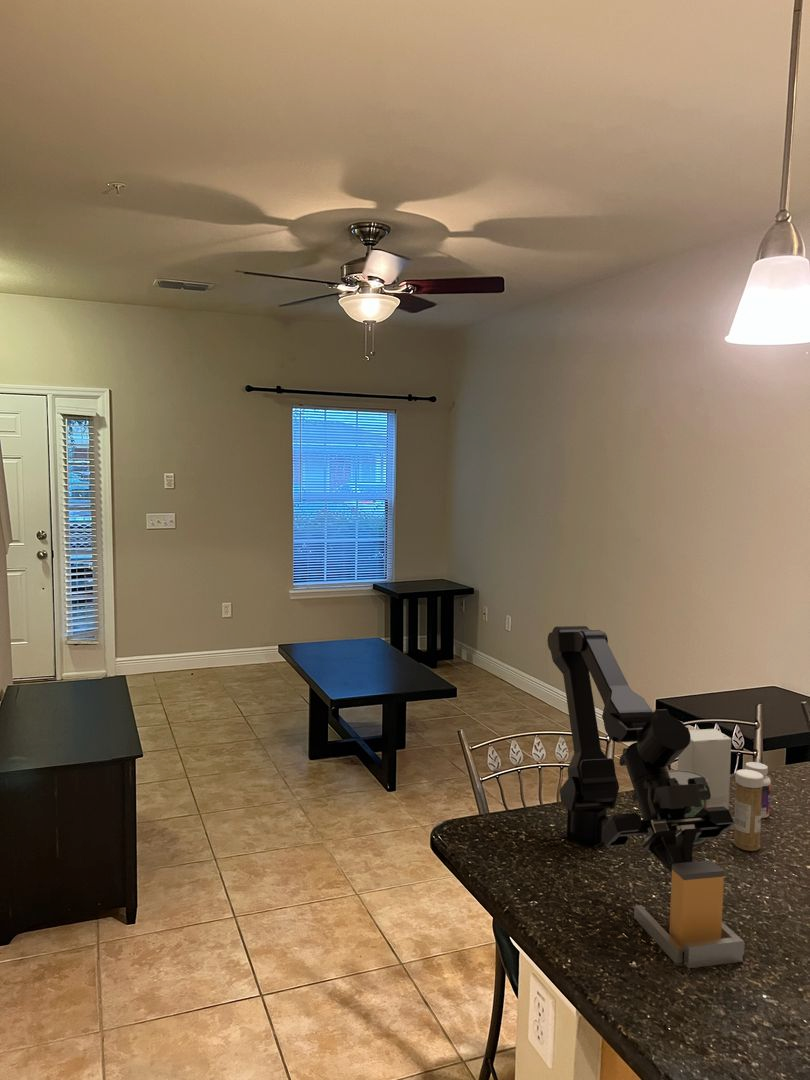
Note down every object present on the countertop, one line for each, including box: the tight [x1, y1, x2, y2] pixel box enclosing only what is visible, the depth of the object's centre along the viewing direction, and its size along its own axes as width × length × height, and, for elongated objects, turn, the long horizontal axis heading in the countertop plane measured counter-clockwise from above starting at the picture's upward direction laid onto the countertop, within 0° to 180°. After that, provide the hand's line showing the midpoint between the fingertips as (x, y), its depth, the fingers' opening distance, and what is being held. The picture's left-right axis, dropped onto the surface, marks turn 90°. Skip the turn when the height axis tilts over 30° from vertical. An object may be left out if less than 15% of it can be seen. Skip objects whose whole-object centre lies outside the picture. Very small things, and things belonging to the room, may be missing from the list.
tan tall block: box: [668, 860, 725, 953], centre depth 105 cm, size 3×6×11 cm, turn 102°
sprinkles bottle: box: [732, 768, 764, 852], centre depth 137 cm, size 5×5×14 cm
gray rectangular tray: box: [633, 904, 746, 969], centre depth 108 cm, size 16×10×4 cm, turn 12°
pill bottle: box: [744, 761, 772, 819], centre depth 151 cm, size 5×5×10 cm
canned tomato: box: [668, 769, 708, 846], centre depth 141 cm, size 8×8×11 cm
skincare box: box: [677, 728, 733, 811], centre depth 152 cm, size 8×7×16 cm
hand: (689, 887), depth 107 cm, fingers closed, pressing on tan tall block
